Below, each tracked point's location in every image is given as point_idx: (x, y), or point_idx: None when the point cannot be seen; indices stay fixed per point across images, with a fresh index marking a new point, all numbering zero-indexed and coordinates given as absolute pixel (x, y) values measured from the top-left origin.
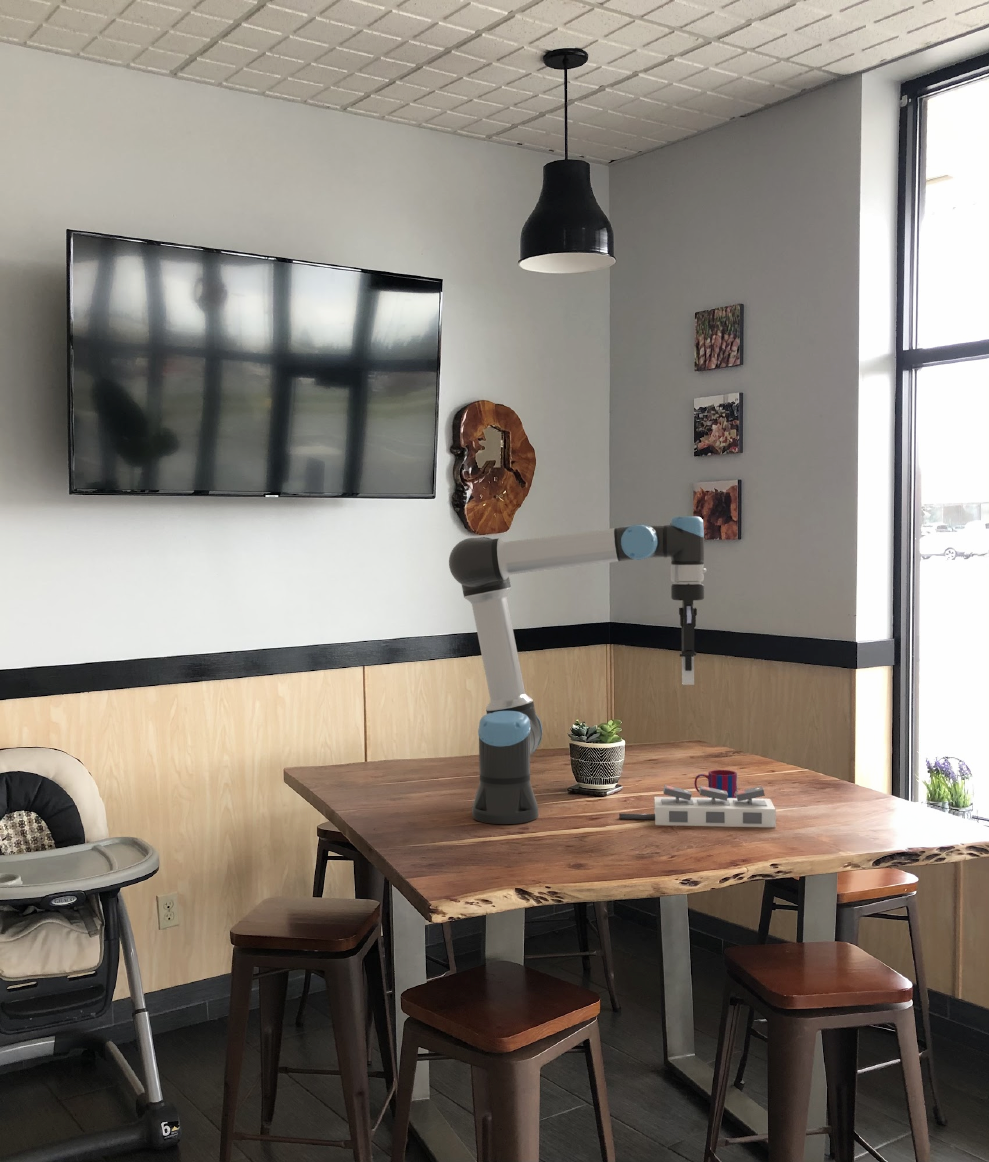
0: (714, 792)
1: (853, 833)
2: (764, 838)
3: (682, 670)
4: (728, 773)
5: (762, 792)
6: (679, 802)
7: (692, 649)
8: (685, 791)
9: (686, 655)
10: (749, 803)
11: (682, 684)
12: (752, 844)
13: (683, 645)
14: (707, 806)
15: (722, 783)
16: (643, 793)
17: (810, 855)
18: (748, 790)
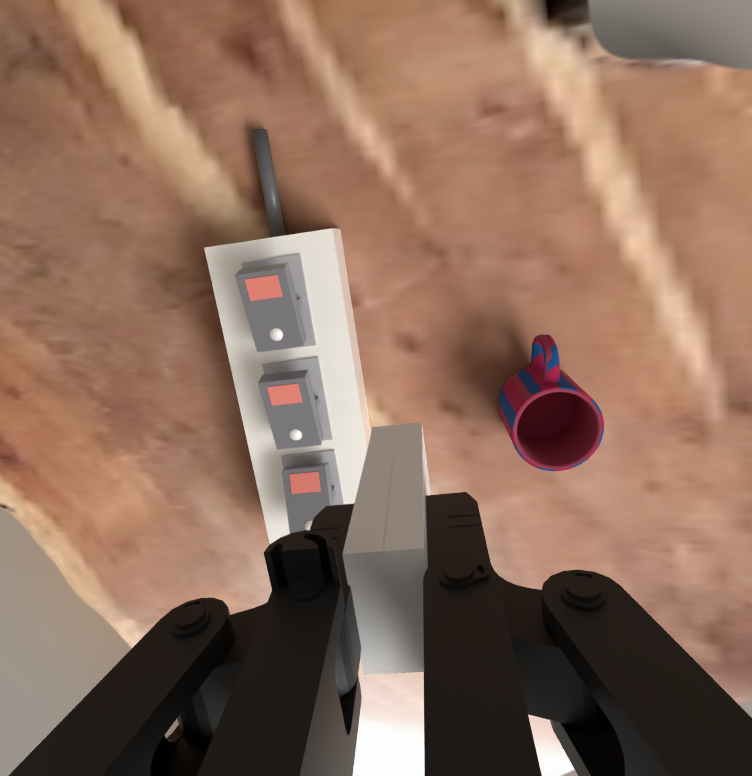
0: (268, 416)
1: None
2: (183, 497)
3: (361, 477)
4: (588, 443)
5: None
6: None
7: (154, 759)
8: (271, 333)
9: (244, 621)
10: None
11: (372, 428)
12: (128, 474)
13: (112, 707)
14: (253, 388)
15: (507, 422)
16: (606, 157)
17: (90, 573)
18: (311, 503)
